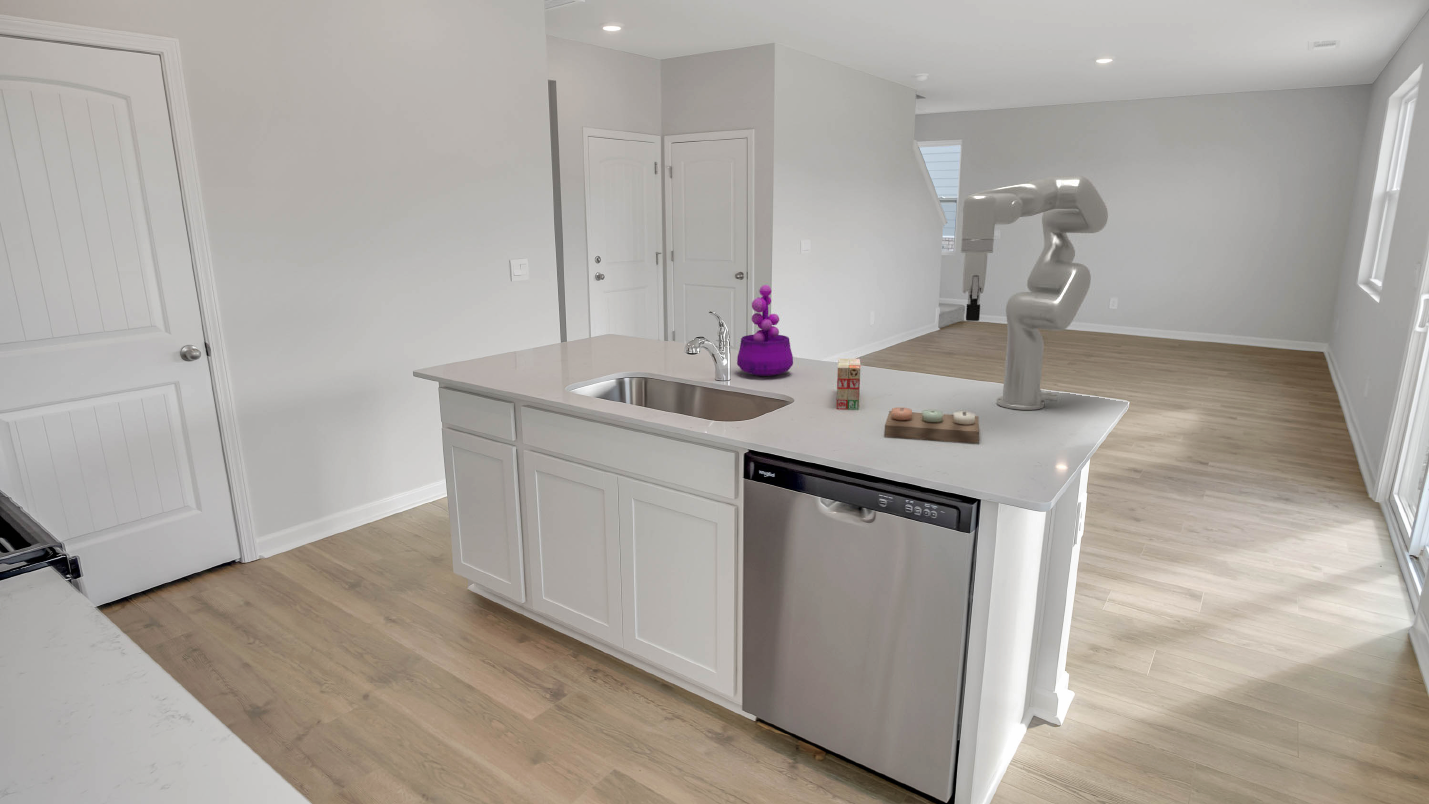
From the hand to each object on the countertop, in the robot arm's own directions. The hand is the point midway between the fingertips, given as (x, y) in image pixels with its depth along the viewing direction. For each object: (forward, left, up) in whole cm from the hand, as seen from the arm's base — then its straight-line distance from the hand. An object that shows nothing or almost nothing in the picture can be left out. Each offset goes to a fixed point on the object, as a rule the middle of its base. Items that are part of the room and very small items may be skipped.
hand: (972, 320), depth 197 cm
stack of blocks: (+33, -15, -27) cm, 45 cm away
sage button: (+8, +12, -23) cm, 28 cm away
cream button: (+1, +12, -24) cm, 26 cm away
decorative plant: (+64, -44, -27) cm, 82 cm away
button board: (+8, +12, -27) cm, 30 cm away
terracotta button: (+16, +12, -23) cm, 31 cm away
